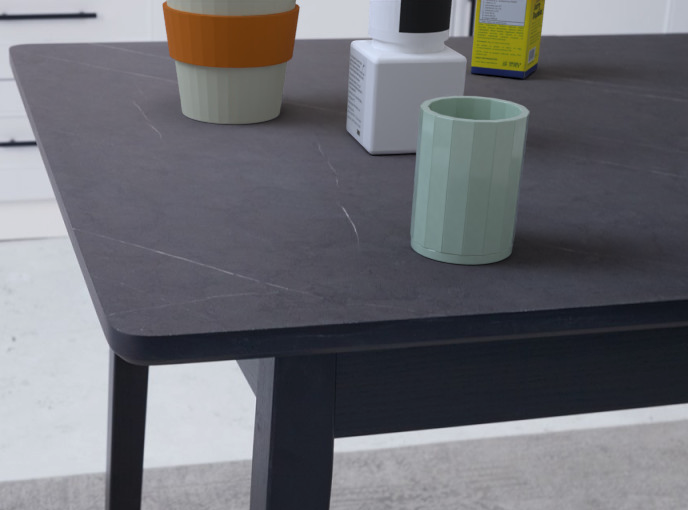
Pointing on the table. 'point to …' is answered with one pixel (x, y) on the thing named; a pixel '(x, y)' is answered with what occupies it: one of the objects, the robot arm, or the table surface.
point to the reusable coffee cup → (231, 56)
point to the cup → (468, 178)
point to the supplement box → (507, 37)
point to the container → (400, 72)
